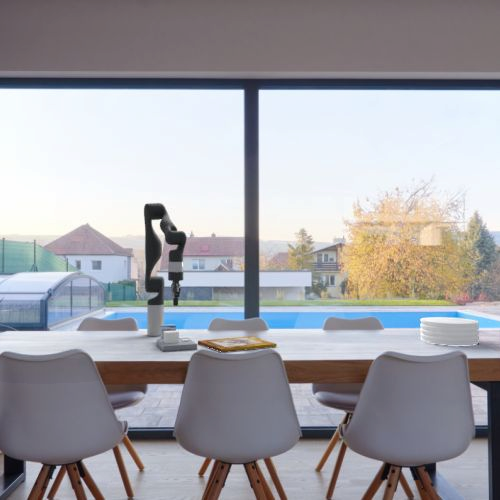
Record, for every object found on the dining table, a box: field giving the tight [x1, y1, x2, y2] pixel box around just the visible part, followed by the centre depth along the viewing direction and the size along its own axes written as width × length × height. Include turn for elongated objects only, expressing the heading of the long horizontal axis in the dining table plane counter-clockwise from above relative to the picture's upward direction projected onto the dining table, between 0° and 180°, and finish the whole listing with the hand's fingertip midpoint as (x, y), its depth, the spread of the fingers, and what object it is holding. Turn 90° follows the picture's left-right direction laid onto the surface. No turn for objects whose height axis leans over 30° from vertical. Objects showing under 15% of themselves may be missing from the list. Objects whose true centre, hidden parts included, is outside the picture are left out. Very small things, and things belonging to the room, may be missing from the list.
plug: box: [164, 330, 180, 343], centre depth 228 cm, size 6×6×7 cm
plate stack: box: [419, 316, 480, 345], centre depth 243 cm, size 28×28×12 cm
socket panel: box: [156, 337, 198, 352], centre depth 228 cm, size 20×16×3 cm
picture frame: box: [197, 335, 277, 353], centre depth 233 cm, size 27×2×30 cm
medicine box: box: [159, 324, 177, 339], centre depth 244 cm, size 8×4×9 cm, turn 105°
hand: (175, 305), depth 233 cm, fingers closed
